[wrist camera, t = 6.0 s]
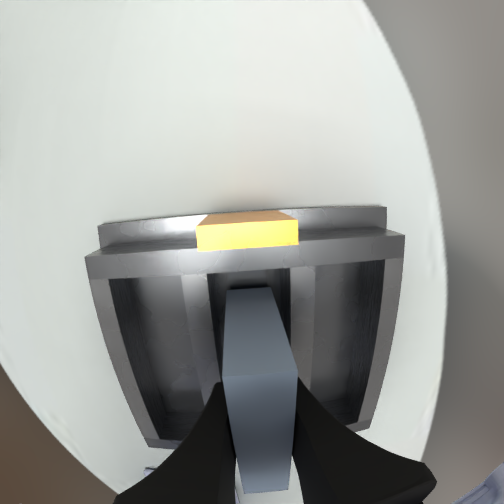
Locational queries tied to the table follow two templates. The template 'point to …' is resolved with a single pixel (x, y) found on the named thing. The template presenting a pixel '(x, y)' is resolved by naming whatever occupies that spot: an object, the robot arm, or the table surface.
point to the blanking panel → (259, 389)
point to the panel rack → (246, 277)
